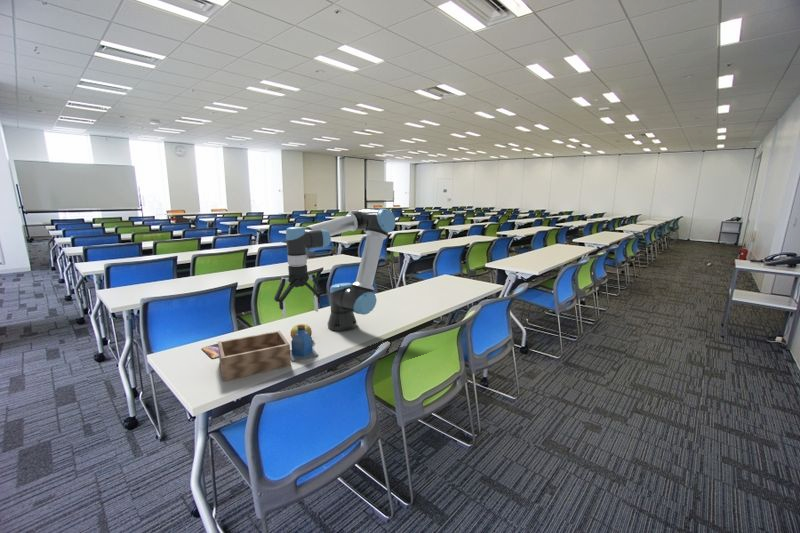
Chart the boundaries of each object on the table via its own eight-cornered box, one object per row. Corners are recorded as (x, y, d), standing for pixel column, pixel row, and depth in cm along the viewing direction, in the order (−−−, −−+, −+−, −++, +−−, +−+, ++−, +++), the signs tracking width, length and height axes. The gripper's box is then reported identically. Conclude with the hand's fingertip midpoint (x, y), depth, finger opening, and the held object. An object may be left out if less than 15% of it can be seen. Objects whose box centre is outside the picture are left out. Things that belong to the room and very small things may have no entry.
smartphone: (211, 358, 143) (200, 348, 153) (211, 360, 143) (200, 349, 153) (230, 353, 148) (218, 342, 158) (230, 354, 148) (218, 344, 158)
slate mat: (310, 346, 156) (310, 345, 156) (318, 356, 147) (318, 354, 147) (285, 352, 150) (285, 350, 150) (292, 362, 141) (292, 360, 141)
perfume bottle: (312, 350, 151) (311, 324, 148) (304, 356, 145) (303, 329, 142) (300, 348, 152) (298, 323, 150) (292, 354, 146) (290, 328, 144)
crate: (281, 349, 153) (279, 330, 151) (290, 365, 138) (289, 344, 136) (219, 362, 140) (217, 341, 138) (223, 381, 126) (221, 358, 124)
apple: (286, 340, 163) (286, 324, 161) (304, 334, 170) (304, 319, 168) (297, 346, 156) (297, 329, 155) (316, 340, 163) (315, 324, 162)
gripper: (323, 260, 151) (325, 306, 155) (264, 266, 138) (268, 316, 142) (329, 263, 144) (331, 310, 149) (267, 269, 132) (272, 321, 136)
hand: (300, 313), depth 145 cm, fingers open, 13 cm apart
